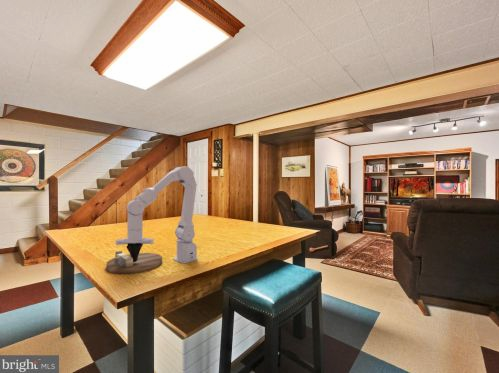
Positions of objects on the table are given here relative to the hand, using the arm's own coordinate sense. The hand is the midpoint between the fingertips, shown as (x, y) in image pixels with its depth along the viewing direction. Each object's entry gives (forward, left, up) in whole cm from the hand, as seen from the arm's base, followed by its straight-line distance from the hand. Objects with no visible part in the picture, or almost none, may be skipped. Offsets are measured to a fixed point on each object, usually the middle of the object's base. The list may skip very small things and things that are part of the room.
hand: (134, 261), depth 99 cm
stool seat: (+4, -2, -3) cm, 6 cm away
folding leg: (+4, +3, -1) cm, 5 cm away
